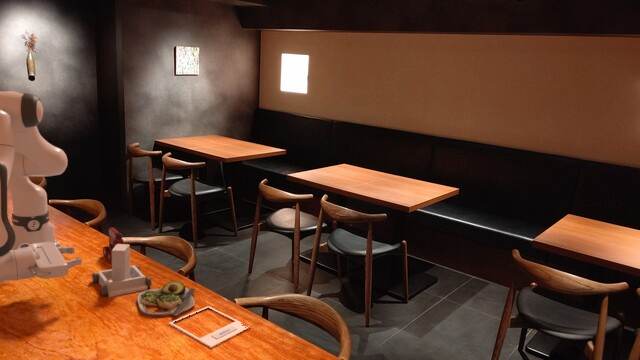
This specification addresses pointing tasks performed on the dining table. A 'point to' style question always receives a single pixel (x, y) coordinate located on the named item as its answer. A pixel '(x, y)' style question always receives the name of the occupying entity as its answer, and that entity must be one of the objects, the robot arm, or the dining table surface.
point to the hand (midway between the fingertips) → (77, 255)
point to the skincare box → (121, 262)
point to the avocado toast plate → (167, 299)
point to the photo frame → (217, 335)
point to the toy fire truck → (112, 243)
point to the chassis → (121, 282)
